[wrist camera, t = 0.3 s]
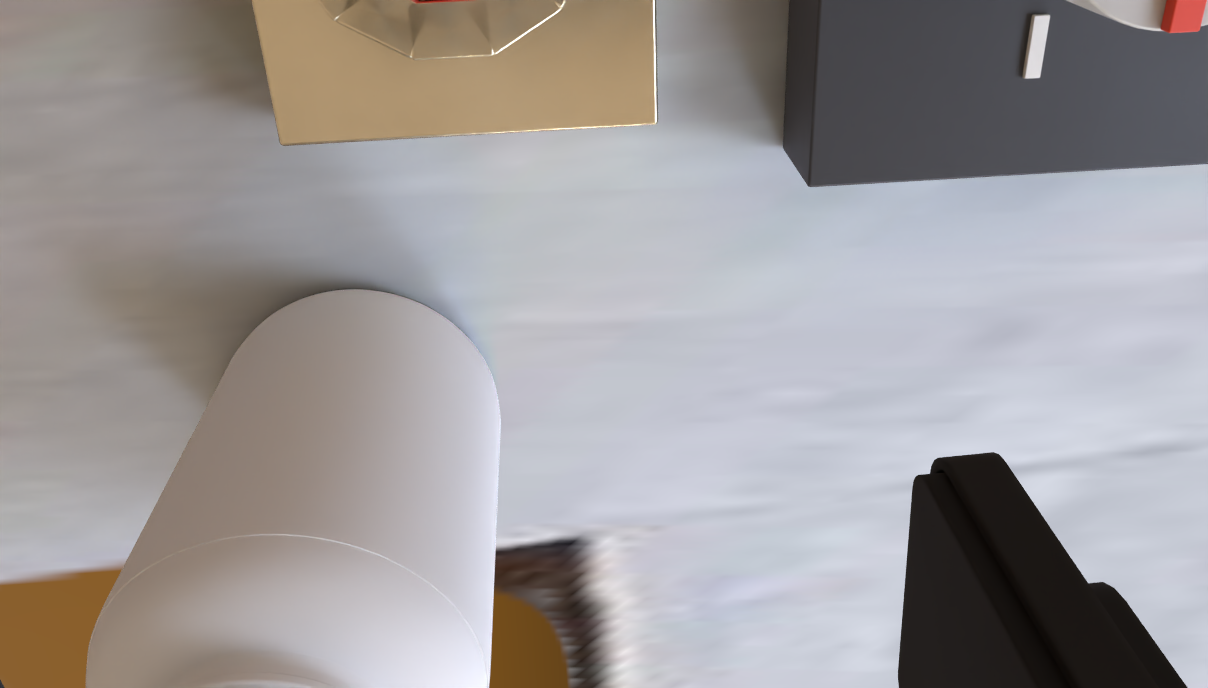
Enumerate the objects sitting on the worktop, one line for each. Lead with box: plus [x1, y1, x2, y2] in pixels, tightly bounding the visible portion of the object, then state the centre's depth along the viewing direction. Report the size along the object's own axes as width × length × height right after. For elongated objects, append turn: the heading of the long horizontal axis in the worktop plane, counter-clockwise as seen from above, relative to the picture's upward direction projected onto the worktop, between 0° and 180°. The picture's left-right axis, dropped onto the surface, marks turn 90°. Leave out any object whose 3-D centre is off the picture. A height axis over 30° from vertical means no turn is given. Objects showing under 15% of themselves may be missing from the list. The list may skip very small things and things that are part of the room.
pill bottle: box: [86, 289, 501, 688], centre depth 24 cm, size 8×8×15 cm
